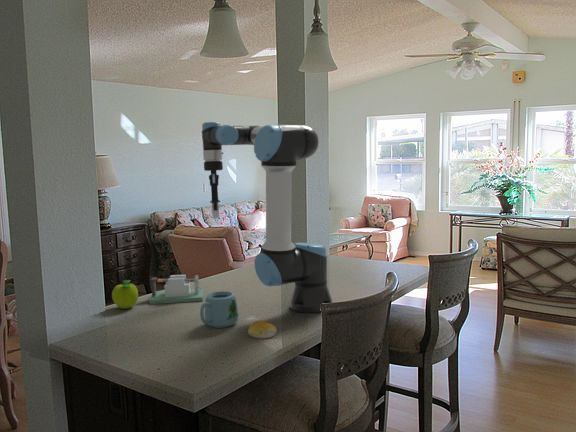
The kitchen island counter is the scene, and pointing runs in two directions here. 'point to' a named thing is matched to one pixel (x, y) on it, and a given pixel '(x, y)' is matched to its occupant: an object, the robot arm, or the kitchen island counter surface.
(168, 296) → the heatsink board
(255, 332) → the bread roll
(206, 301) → the mug
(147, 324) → the kitchen island counter surface
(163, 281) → the wooden stick
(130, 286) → the fruit
